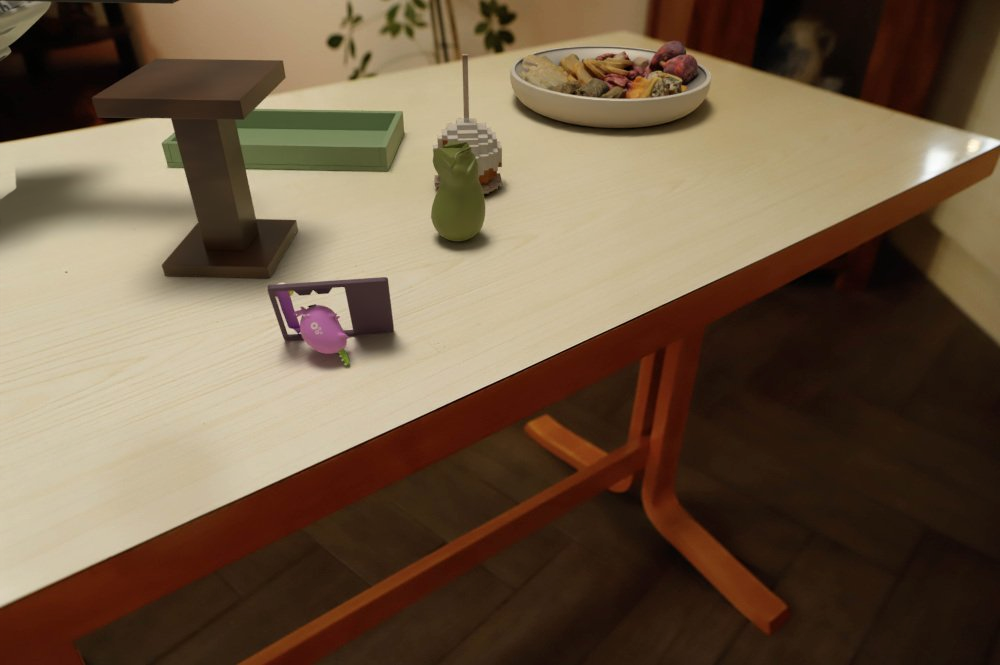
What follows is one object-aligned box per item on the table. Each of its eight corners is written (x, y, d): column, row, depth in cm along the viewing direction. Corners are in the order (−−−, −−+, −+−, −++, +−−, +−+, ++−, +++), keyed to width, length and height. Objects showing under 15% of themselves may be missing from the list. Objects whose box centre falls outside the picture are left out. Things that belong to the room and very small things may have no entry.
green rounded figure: (494, 242, 74) (494, 147, 68) (449, 255, 71) (445, 158, 66) (466, 221, 78) (464, 130, 72) (423, 233, 75) (417, 140, 69)
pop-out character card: (387, 269, 56) (267, 277, 55) (390, 323, 53) (263, 333, 52) (393, 321, 61) (284, 329, 60) (396, 373, 58) (282, 382, 57)
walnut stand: (149, 281, 67) (90, 97, 57) (198, 223, 77) (155, 58, 67) (277, 284, 67) (239, 100, 57) (310, 225, 77) (283, 60, 67)
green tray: (167, 167, 90) (161, 143, 88) (208, 129, 101) (203, 107, 99) (388, 171, 89) (385, 147, 87) (404, 133, 100) (402, 111, 98)
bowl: (583, 150, 95) (588, 90, 90) (475, 91, 116) (474, 39, 112) (748, 114, 107) (760, 59, 103) (623, 66, 128) (628, 19, 124)
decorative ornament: (434, 174, 88) (427, 46, 79) (497, 172, 89) (498, 45, 80) (435, 201, 82) (428, 65, 73) (503, 199, 82) (504, 63, 74)
